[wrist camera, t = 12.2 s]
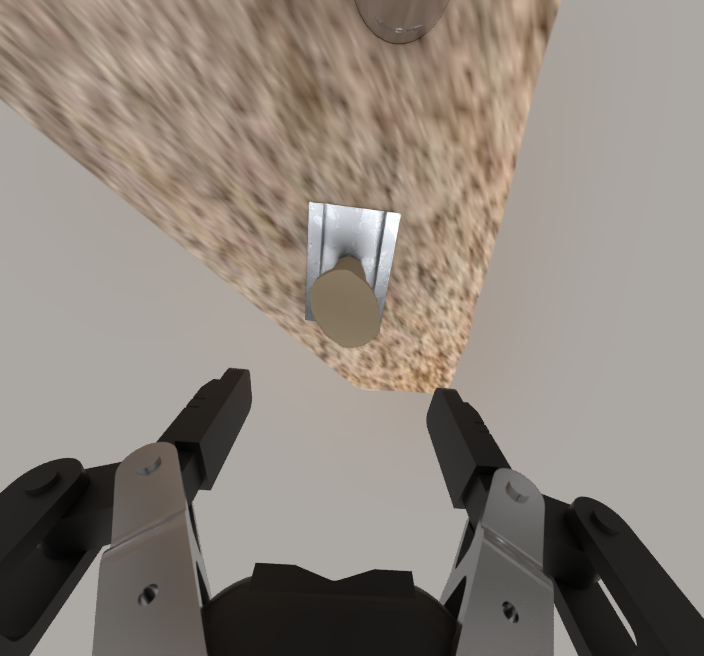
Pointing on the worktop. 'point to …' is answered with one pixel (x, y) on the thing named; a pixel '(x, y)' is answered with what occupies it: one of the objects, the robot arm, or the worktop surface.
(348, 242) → the floor track
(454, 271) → the worktop surface
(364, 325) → the handle
